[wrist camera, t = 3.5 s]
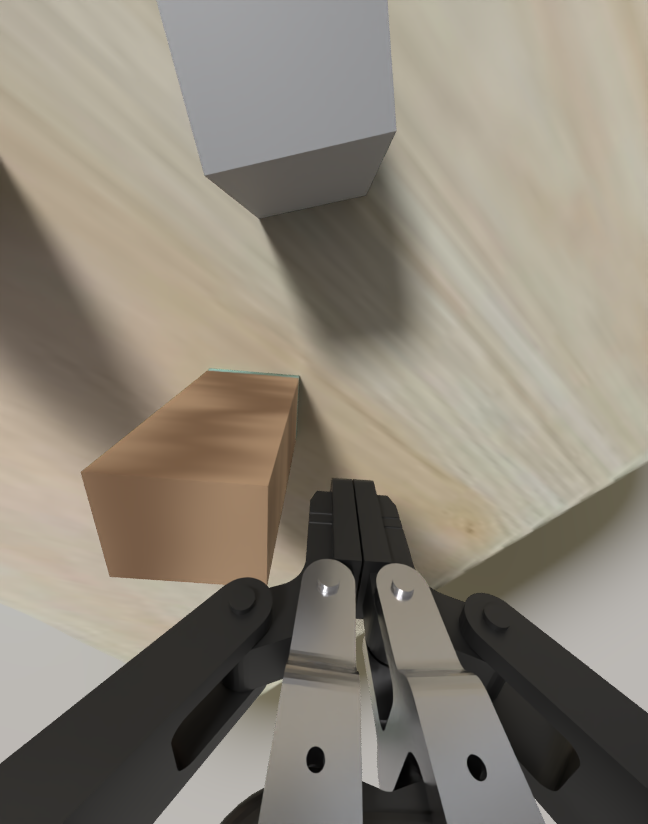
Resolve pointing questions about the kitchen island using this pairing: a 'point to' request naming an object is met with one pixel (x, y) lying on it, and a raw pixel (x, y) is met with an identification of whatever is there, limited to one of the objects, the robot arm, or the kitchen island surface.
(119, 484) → the walnut block
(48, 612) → the kitchen island surface
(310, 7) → the gray block
